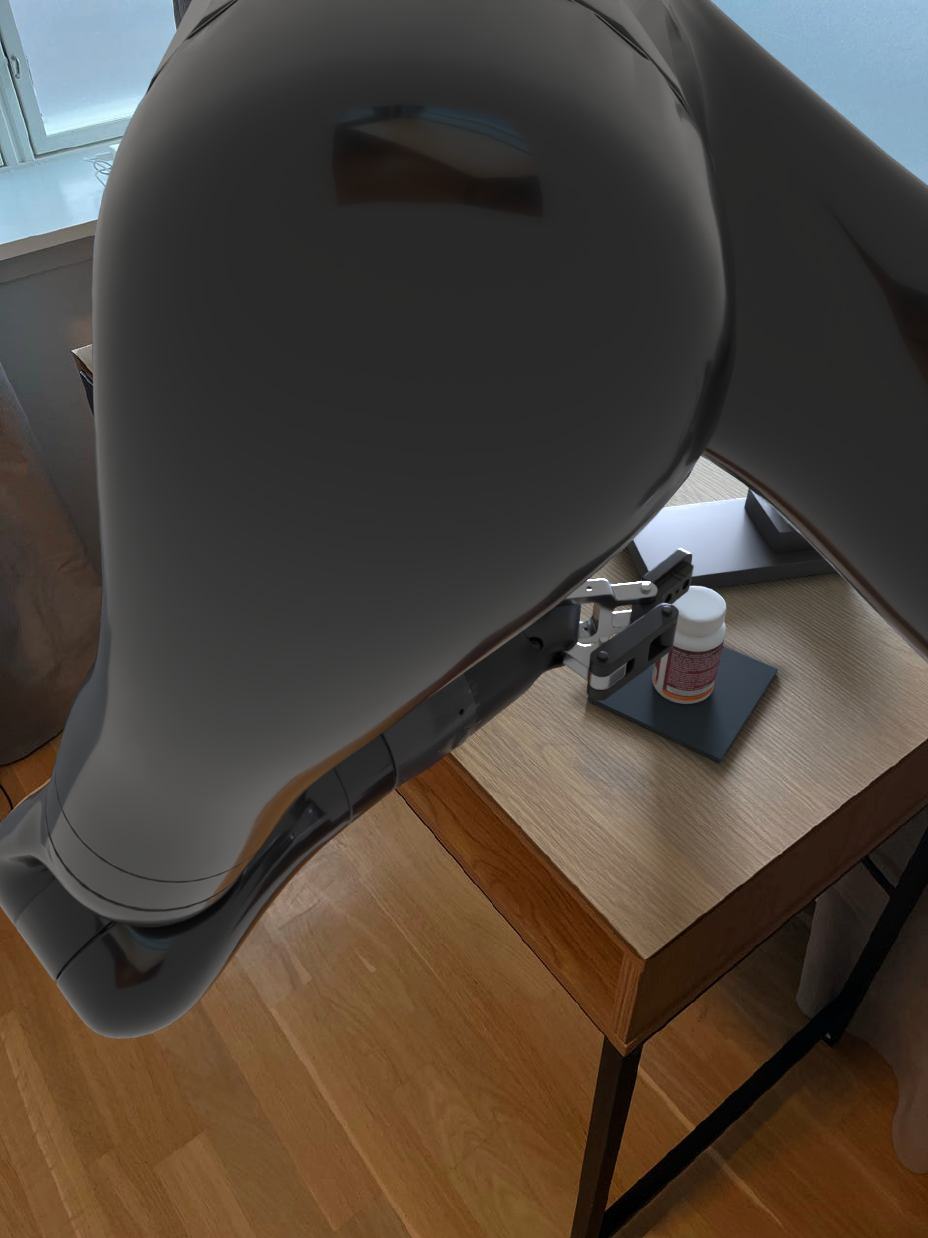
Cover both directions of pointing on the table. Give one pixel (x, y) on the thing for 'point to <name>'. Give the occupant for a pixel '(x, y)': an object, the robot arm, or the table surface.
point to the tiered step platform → (728, 543)
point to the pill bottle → (693, 648)
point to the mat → (698, 705)
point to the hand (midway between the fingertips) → (623, 530)
